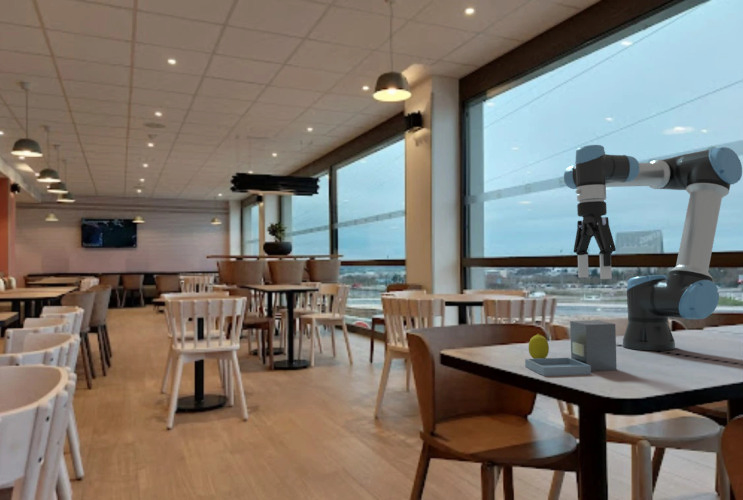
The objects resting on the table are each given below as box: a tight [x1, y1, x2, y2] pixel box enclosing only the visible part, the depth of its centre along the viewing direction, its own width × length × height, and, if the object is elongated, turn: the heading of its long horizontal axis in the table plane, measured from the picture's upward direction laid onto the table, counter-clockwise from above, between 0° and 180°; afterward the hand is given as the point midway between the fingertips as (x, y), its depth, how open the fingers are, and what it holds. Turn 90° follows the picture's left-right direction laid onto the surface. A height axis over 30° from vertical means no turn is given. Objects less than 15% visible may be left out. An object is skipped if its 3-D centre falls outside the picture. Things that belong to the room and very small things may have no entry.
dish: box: [524, 357, 592, 377], centre depth 144 cm, size 12×12×2 cm
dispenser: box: [569, 319, 617, 372], centre depth 147 cm, size 9×9×12 cm
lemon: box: [528, 333, 550, 359], centre depth 156 cm, size 6×6×8 cm
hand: (594, 278), depth 152 cm, fingers open, 13 cm apart
